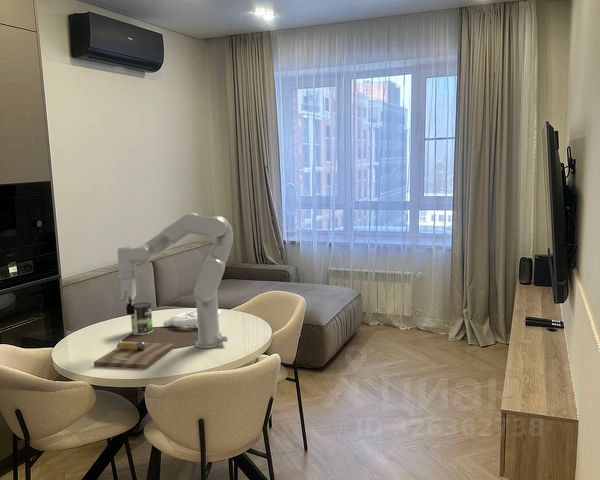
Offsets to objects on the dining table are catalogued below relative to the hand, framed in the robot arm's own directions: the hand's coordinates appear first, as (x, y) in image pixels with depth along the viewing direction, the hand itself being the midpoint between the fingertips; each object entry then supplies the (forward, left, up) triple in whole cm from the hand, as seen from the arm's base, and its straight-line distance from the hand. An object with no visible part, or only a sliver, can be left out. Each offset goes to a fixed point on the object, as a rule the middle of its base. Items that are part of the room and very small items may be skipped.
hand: (130, 314), depth 239 cm
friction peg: (-3, +6, -14) cm, 16 cm away
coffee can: (+9, -25, -17) cm, 32 cm away
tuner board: (-7, +9, -17) cm, 20 cm away
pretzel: (-12, -42, -17) cm, 47 cm away
